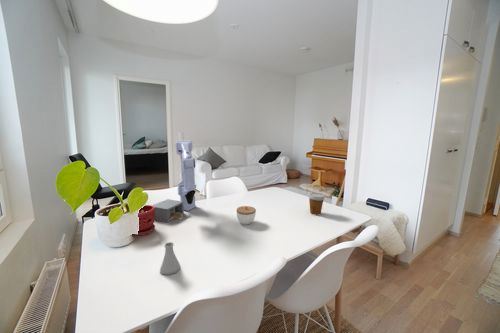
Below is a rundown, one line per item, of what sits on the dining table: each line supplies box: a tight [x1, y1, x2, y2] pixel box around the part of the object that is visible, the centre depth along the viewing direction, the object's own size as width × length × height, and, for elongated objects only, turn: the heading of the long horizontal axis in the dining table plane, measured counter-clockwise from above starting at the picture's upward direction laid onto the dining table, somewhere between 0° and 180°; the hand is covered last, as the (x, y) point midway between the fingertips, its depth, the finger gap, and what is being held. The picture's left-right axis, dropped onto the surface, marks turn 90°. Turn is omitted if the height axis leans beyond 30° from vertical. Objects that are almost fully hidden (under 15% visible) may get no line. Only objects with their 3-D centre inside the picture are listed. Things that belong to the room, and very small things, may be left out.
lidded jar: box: [236, 205, 257, 225], centre depth 124 cm, size 11×11×9 cm
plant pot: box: [137, 204, 156, 236], centre depth 111 cm, size 13×13×12 cm
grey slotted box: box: [151, 198, 185, 223], centre depth 132 cm, size 14×12×8 cm
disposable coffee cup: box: [308, 192, 325, 216], centre depth 139 cm, size 10×10×12 cm
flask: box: [159, 241, 181, 276], centre depth 82 cm, size 7×7×10 cm
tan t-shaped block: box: [169, 208, 184, 221], centre depth 131 cm, size 8×12×5 cm
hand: (190, 203), depth 125 cm, fingers closed
